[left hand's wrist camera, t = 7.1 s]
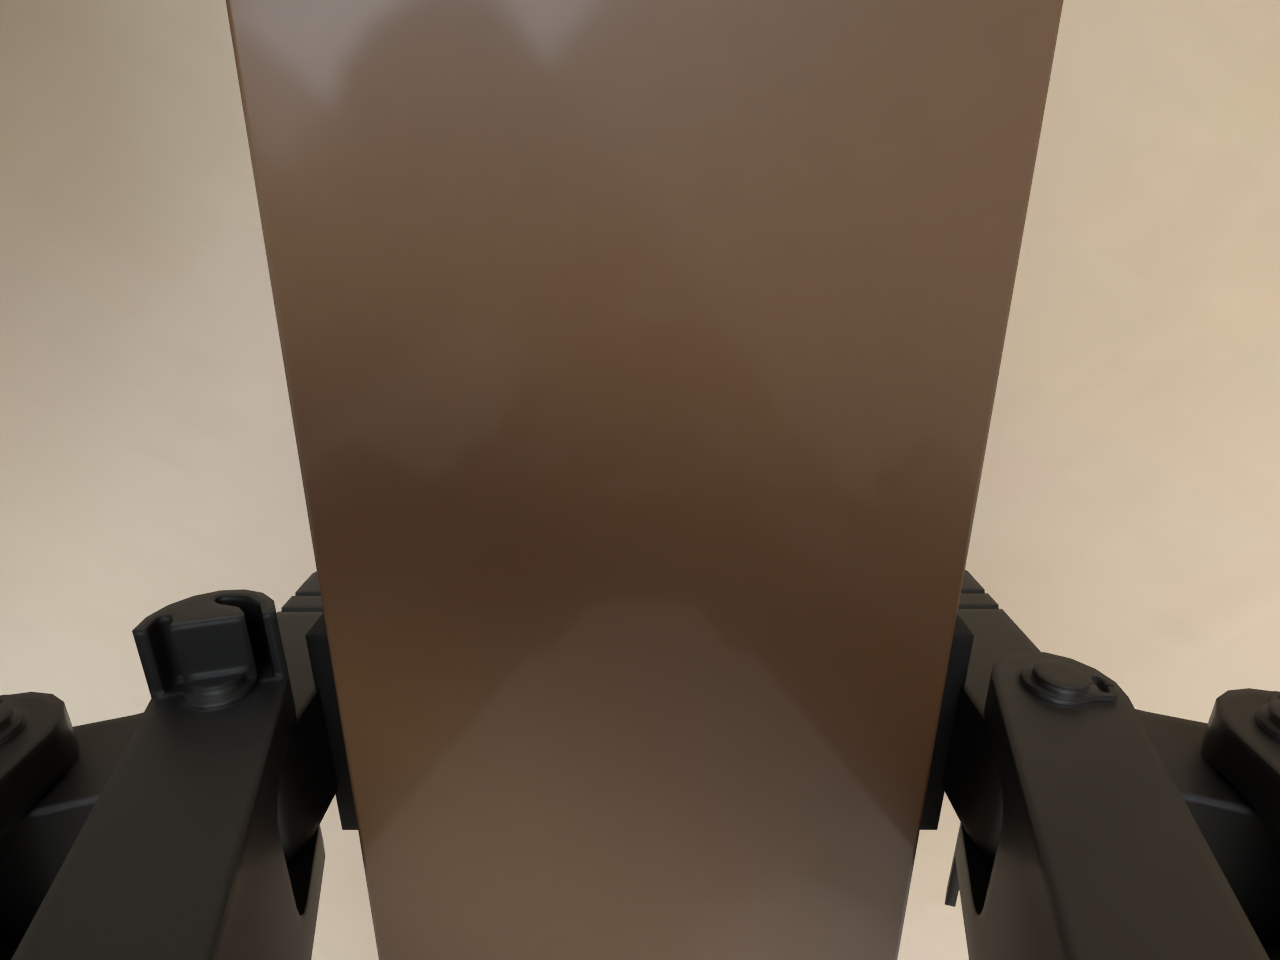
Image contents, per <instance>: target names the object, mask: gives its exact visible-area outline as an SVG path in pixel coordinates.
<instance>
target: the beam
mask: <svg viewBox="0 0 1280 960" xmlns="http://www.w3.org/2000/svg"><path fill="white" fill-rule="evenodd" d="M226 4H227V10H228V17H229V23H230V29H231V35H232V42H233V48H234V54H235V61H236V67H237V73H238V79H239V86H240V92H241V98H242V104H243V111H244V117H245V123H246V129H247V136H248V142H249V148H250V154H251V161H252V167H253V173H254V179H255V186H256V192H257V198H258V205H259V211H260V217H261V223H262V230H263V236H264V242H265V248H266V255H267V261H268V267H269V273H270V280H271V286H272V292H273V298H274V305H275V311H276V317H277V323H278V330H279V336H280V342H281V349H282V355H283V361H284V367H285V374H286V380H287V386H288V392H289V399H290V405H291V411H292V417H293V424H294V430H295V436H296V442H297V449H298V455H299V461H300V468H301V474H302V480H303V486H304V493H305V499H306V505H307V511H308V518H309V524H310V530H311V536H312V543H313V549H314V555H315V561H316V568H317V574H318V580H319V586H320V593H321V599H322V605H323V612H324V618H325V624H326V630H327V637H328V643H329V649H330V655H331V662H332V668H333V674H334V680H335V687H336V693H337V699H338V705H339V712H340V718H341V724H342V731H343V737H344V743H345V749H346V756H347V762H348V768H349V774H350V781H351V787H352V793H353V799H354V806H355V812H356V818H357V824H358V831H359V837H360V843H361V849H362V856H363V862H364V868H365V875H366V881H367V887H368V893H369V900H370V906H371V912H372V918H373V925H374V931H375V937H376V943H377V950H378V956H379V960H897V957H898V952H899V946H900V940H901V934H902V929H903V923H904V917H905V911H906V905H907V900H908V894H909V888H910V882H911V877H912V871H913V865H914V859H915V854H916V848H917V842H918V836H919V830H920V825H921V819H922V813H923V807H924V802H925V796H926V790H927V784H928V778H929V773H930V767H931V761H932V755H933V750H934V744H935V738H936V732H937V727H938V721H939V715H940V709H941V703H942V698H943V692H944V686H945V680H946V675H947V669H948V663H949V657H950V651H951V646H952V640H953V634H954V628H955V623H956V617H957V611H958V605H959V599H960V594H961V588H962V582H963V576H964V571H965V565H966V559H967V553H968V548H969V542H970V536H971V530H972V524H973V519H974V513H975V507H976V501H977V496H978V490H979V484H980V478H981V472H982V467H983V461H984V455H985V449H986V444H987V438H988V432H989V426H990V421H991V415H992V409H993V403H994V397H995V392H996V386H997V380H998V374H999V369H1000V363H1001V357H1002V351H1003V345H1004V340H1005V334H1006V328H1007V322H1008V317H1009V311H1010V305H1011V299H1012V293H1013V288H1014V282H1015V276H1016V270H1017V265H1018V259H1019V253H1020V247H1021V242H1022V236H1023V230H1024V224H1025V218H1026V213H1027V207H1028V201H1029V195H1030V190H1031V184H1032V178H1033V172H1034V166H1035V161H1036V155H1037V149H1038V143H1039V138H1040V132H1041V126H1042V120H1043V115H1044V109H1045V103H1046V97H1047V91H1048V86H1049V80H1050V74H1051V68H1052V63H1053V57H1054V51H1055V45H1056V39H1057V34H1058V28H1059V22H1060V16H1061V11H1062V5H1063V0H226Z"/></svg>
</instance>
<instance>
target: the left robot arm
mask: <svg viewBox="0 0 1280 960" xmlns="http://www.w3.org/2000/svg"><path fill="white" fill-rule="evenodd" d="M132 632H133V635H134V639H135V642H136V646H137V649H138V653H139V656H140V660H141V663H142V667H143V670H144V673H145V677H146V680H147V684H148V687H149V691H150V694H151V698H152V699H151V701H150V702H149V704H148V706H147V708H146V710H145V712H144V713H140V714H136V715H132V716H127V717H121V718H116V719H111V720H106V721H101V722H96V723H90V724H85V725H80V726H75V727H72V724H71V721H70V718H69V715H68V713H67V710H66V707H65V704H64V702H63V701H62V700H60V699H59V698H57V697H56V696H54V695H53V694H46V693H37V692H27V693H20V694H12V695H1V696H0V960H311V956H312V949H313V942H314V934H315V927H316V920H317V913H318V905H319V898H320V891H321V883H322V876H323V869H324V862H325V851H324V843H323V838H322V833H321V828H320V822H321V820H322V819H323V817H324V815H325V813H326V811H327V809H328V807H329V805H330V803H331V801H332V799H333V797H334V796H335V794H336V799H337V804H338V809H339V814H340V820H341V825H342V830H358V824H357V818H356V812H355V806H354V799H353V793H352V787H351V781H350V774H349V768H348V762H347V756H346V749H345V743H344V737H343V731H342V724H341V718H340V712H339V705H338V699H337V693H336V687H335V680H334V674H333V668H332V662H331V655H330V649H329V643H328V637H327V630H326V624H325V618H324V612H323V605H322V599H321V593H320V586H319V580H318V574H317V572H315V573H313V574H312V575H311V576H310V577H309V578H308V579H307V580H306V581H305V583H304V584H303V585H302V586H301V587H300V588H299V589H298V590H297V591H296V595H295V596H292V597H291V598H290V599H289V600H288V601H287V603H286V604H285V605H284V606H283V607H282V611H281V612H278V613H277V614H276V609H275V604H274V600H272V599H271V598H269V597H268V596H267V595H265V594H264V593H260V592H255V591H249V590H223V591H216V592H211V593H206V594H201V595H196V596H193V597H190V598H187V599H184V600H181V601H179V602H176V603H173V604H170V605H168V606H166V607H164V608H162V609H160V610H159V611H157V612H155V613H153V614H151V615H150V616H148V617H146V618H145V619H144V620H143V621H142V622H141V623H140V624H139V625H138V626H137V627H136V628H135V629H134V630H133V631H132ZM944 791H945V793H946V795H947V796H948V798H949V800H950V802H951V804H952V806H953V808H954V810H955V812H956V814H957V816H958V817H959V819H960V821H961V823H960V828H959V833H958V838H957V843H956V847H955V852H954V857H953V862H952V867H951V872H950V877H949V881H948V886H947V893H946V900H945V904H946V905H950V906H954V907H955V905H956V900H957V895H958V891H959V890H960V896H961V903H962V911H963V918H964V925H965V932H966V940H967V947H968V954H969V960H1280V692H1278V691H1265V690H1257V689H1250V688H1248V689H1239V690H1229V691H1227V692H1225V693H1224V694H1222V695H1221V696H1220V697H1218V698H1217V699H1216V702H1215V705H1214V708H1213V711H1212V714H1211V716H1210V719H1209V722H1208V724H1207V723H1202V722H1197V721H1192V720H1186V719H1181V718H1176V717H1171V716H1166V715H1160V714H1155V713H1150V712H1145V711H1141V710H1137V709H1135V708H1134V707H1133V705H1132V703H1131V701H1130V699H1129V697H1128V696H1127V695H1126V694H1125V693H1124V692H1123V690H1122V689H1121V688H1120V687H1119V686H1118V685H1117V683H1116V682H1114V681H1113V680H1111V679H1110V678H1108V677H1107V676H1105V675H1104V674H1102V673H1101V672H1099V671H1098V670H1096V669H1094V668H1092V667H1090V666H1087V665H1085V664H1082V663H1080V662H1078V661H1075V660H1073V659H1070V658H1066V657H1062V656H1058V655H1054V654H1049V653H1045V652H1040V650H1039V649H1038V648H1037V647H1036V646H1035V645H1034V644H1033V643H1032V642H1031V641H1030V639H1029V638H1028V637H1027V636H1026V635H1025V634H1024V633H1023V632H1022V631H1021V630H1020V628H1019V627H1018V626H1017V625H1016V624H1015V623H1014V622H1013V621H1012V620H1011V619H1010V617H1009V616H1008V615H1007V614H1006V613H1005V612H1004V611H1003V610H1002V609H999V608H998V604H997V603H996V602H995V601H994V600H993V599H992V598H991V596H990V595H989V594H985V592H984V589H983V588H982V587H981V585H980V584H979V583H978V582H977V581H976V580H975V579H974V578H973V577H972V576H971V574H970V573H969V572H968V571H966V570H965V571H964V576H963V582H962V588H961V594H960V599H959V605H958V611H957V617H956V623H955V628H954V634H953V640H952V646H951V651H950V657H949V663H948V669H947V675H946V680H945V686H944V692H943V698H942V703H941V709H940V715H939V721H938V727H937V732H936V738H935V744H934V750H933V755H932V761H931V767H930V773H929V778H928V784H927V790H926V796H925V802H924V807H923V813H922V819H921V825H920V830H937V827H938V822H939V817H940V812H941V807H942V801H943V796H944Z"/></svg>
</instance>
